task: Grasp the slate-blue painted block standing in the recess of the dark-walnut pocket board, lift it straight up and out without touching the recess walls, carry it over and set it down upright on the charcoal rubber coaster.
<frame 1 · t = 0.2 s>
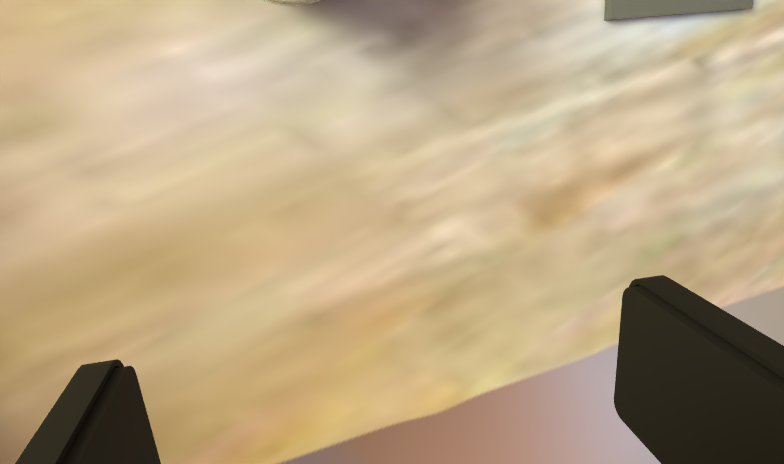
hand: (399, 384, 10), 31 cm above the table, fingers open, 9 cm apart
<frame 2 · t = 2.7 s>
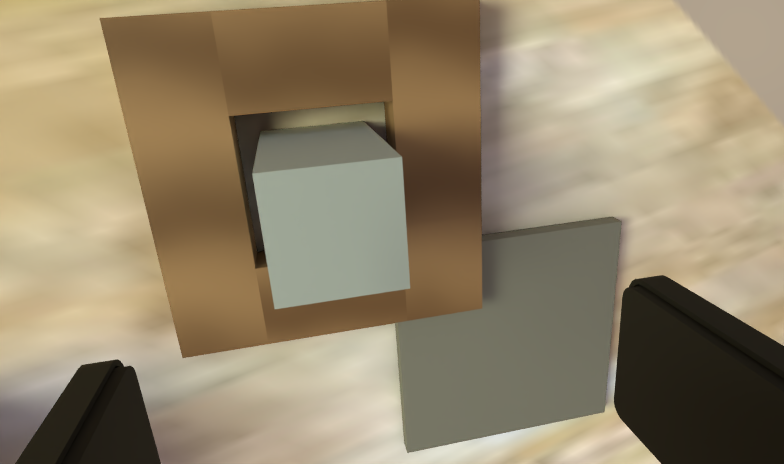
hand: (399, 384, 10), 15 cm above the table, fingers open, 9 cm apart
slate block: (326, 199, 20), in the pocket board
pocket board: (318, 175, 24), on the table
coaster: (504, 334, 29), on the table
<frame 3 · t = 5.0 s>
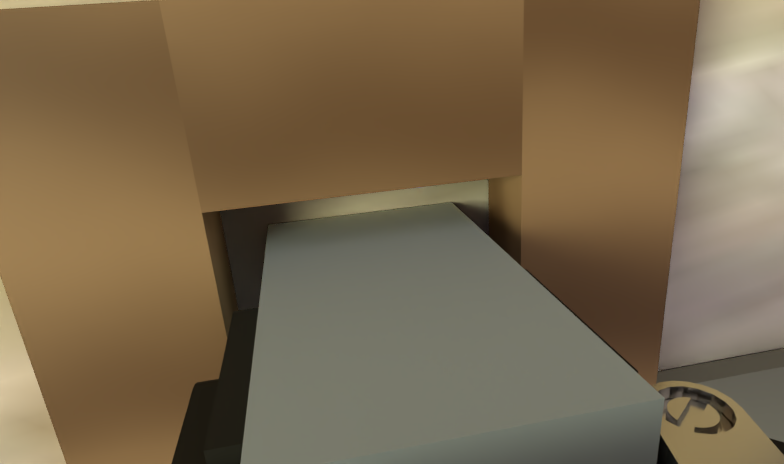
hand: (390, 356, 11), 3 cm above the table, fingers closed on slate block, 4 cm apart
slate block: (401, 388, 10), in the pocket board, touching gripper
pocket board: (368, 295, 14), on the table
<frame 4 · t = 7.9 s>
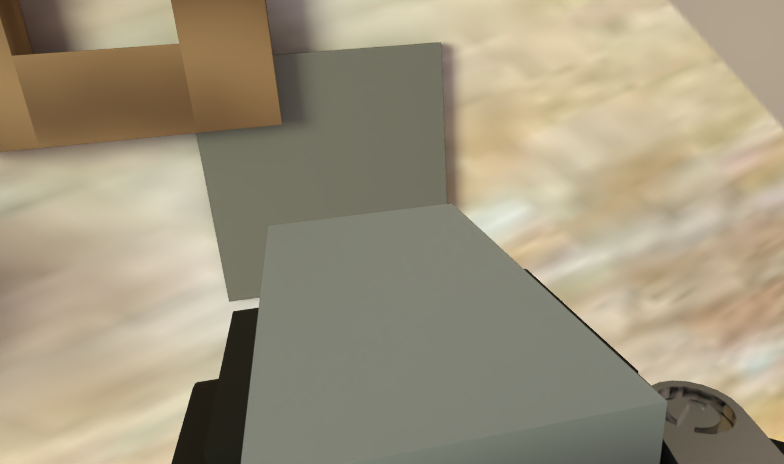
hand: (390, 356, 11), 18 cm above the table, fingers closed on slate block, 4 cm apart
slate block: (401, 390, 10), point 19 cm above the table, touching gripper
coaster: (329, 174, 27), on the table
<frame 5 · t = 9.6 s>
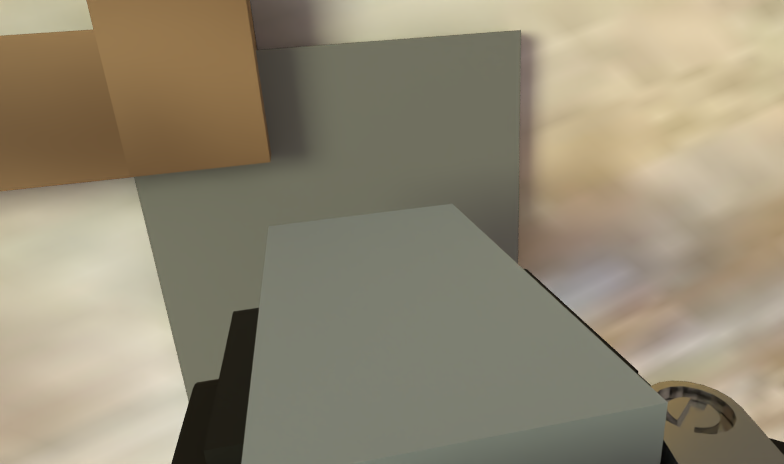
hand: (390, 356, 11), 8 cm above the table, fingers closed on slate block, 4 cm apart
slate block: (401, 391, 10), point 9 cm above the table, touching gripper
coaster: (344, 230, 18), on the table
when the fingers open (5 cm above the table, at t = 11.0 s): slate block drops 1 cm, resting on coaster.
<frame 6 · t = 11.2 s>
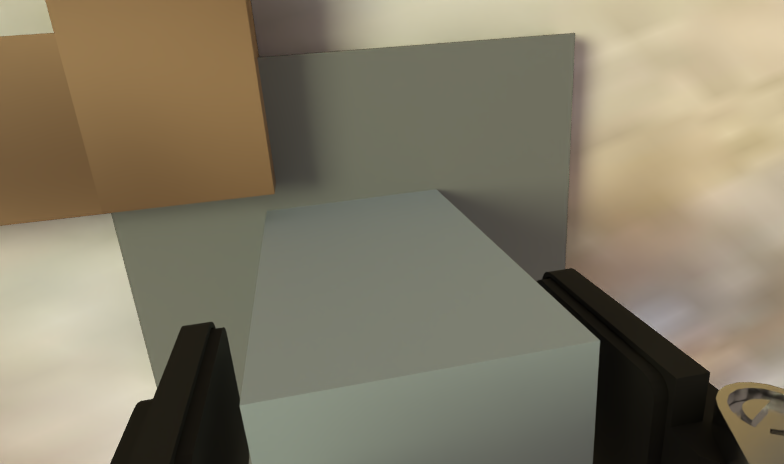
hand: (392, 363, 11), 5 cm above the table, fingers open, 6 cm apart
slate block: (387, 354, 11), on the coaster, point 5 cm above the table
coaster: (360, 268, 15), on the table
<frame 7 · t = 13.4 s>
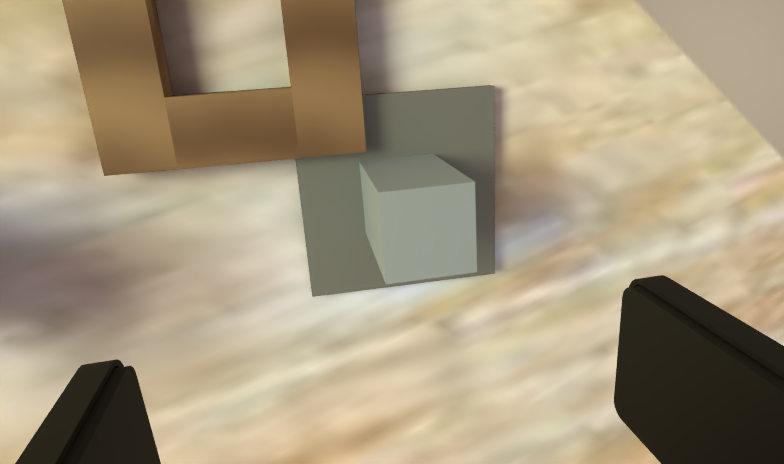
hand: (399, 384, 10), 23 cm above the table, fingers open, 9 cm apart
slate block: (412, 211, 28), on the coaster, point 5 cm above the table
pocket board: (223, 29, 29), on the table
coaster: (398, 191, 33), on the table
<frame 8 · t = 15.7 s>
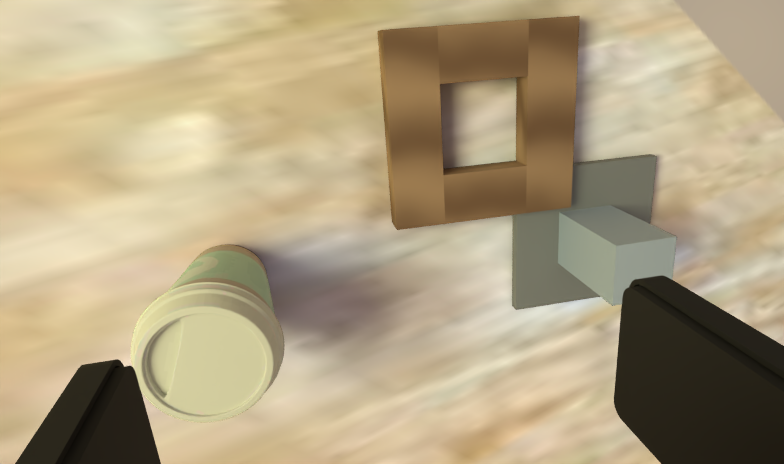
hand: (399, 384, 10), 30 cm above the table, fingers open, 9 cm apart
coffee cup: (228, 279, 41), on the table
slate block: (611, 251, 40), on the coaster, point 5 cm above the table
pocket board: (475, 123, 40), on the table
coaster: (579, 231, 45), on the table
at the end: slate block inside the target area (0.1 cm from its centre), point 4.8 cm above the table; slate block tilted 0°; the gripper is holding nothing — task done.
